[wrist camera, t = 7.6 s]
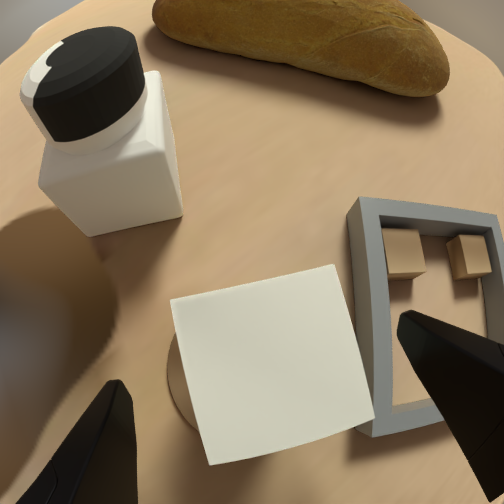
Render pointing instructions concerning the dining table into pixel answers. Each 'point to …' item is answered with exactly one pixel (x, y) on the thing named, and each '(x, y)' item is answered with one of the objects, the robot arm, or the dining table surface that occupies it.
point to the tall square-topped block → (271, 364)
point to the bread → (318, 38)
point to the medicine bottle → (103, 133)
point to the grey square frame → (378, 305)
